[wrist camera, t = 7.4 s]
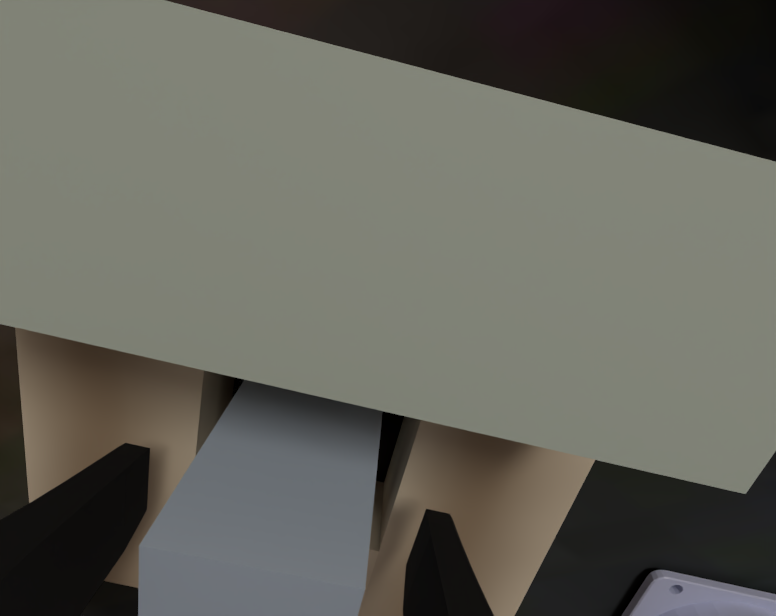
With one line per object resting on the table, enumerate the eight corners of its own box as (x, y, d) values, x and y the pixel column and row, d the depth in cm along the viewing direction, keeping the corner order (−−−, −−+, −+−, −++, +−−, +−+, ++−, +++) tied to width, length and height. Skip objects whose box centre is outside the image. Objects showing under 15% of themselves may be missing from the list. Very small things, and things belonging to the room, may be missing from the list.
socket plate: (623, 265, 14) (676, 302, 11) (479, 581, 19) (491, 660, 16) (86, 132, 13) (-1, 136, 10) (91, 499, 18) (34, 566, 16)
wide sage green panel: (635, 154, 13) (946, 207, 5) (573, 300, 14) (745, 493, 7) (123, 21, 12) (-330, -131, 5) (121, 189, 14) (-217, 274, 6)
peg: (387, 365, 16) (364, 589, 8) (364, 458, 17) (328, 717, 10) (269, 340, 15) (138, 545, 8) (256, 436, 17) (137, 682, 10)
